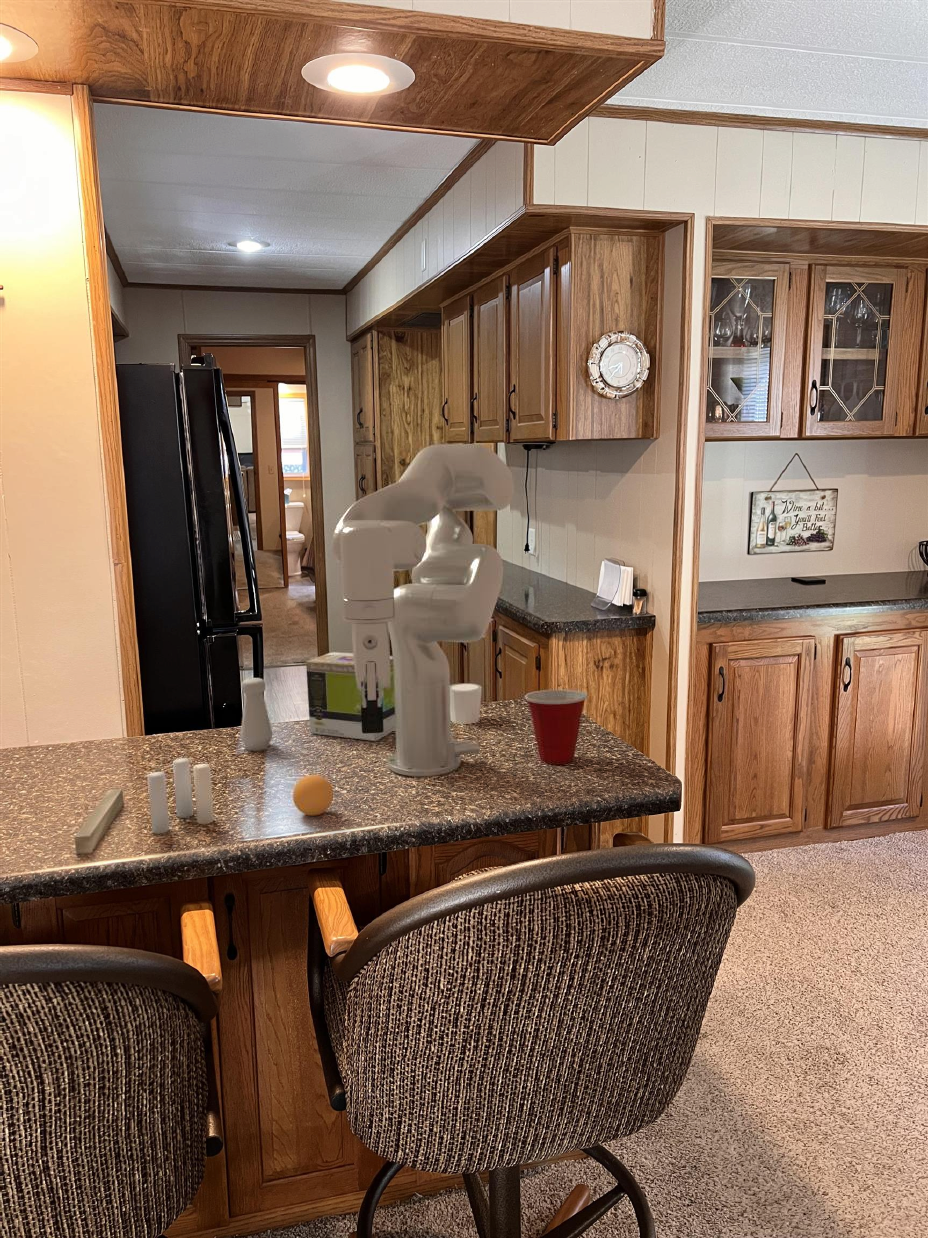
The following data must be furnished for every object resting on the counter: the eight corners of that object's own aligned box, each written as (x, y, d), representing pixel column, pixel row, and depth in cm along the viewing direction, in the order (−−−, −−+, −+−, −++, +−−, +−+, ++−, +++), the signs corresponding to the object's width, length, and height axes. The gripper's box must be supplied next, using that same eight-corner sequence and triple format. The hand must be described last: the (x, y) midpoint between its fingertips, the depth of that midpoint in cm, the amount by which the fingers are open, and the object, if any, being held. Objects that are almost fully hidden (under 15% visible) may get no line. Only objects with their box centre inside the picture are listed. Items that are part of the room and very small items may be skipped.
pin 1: (170, 826, 136) (166, 771, 134) (167, 833, 133) (162, 777, 132) (154, 827, 135) (149, 772, 134) (150, 834, 133) (145, 778, 131)
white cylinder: (447, 716, 188) (446, 683, 187) (480, 715, 189) (479, 681, 187) (449, 726, 181) (448, 692, 180) (484, 724, 182) (483, 690, 181)
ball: (334, 805, 142) (332, 768, 141) (333, 820, 136) (331, 782, 135) (295, 807, 142) (293, 770, 141) (292, 823, 136) (290, 784, 135)
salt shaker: (265, 753, 168) (261, 683, 165) (236, 751, 169) (231, 682, 166) (278, 743, 173) (274, 676, 171) (249, 741, 174) (245, 675, 172)
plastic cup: (571, 746, 168) (571, 682, 166) (598, 765, 158) (598, 697, 155) (515, 753, 164) (515, 688, 162) (539, 773, 154) (539, 704, 152)
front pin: (215, 817, 139) (211, 763, 137) (212, 823, 136) (208, 768, 135) (198, 818, 138) (194, 764, 137) (196, 824, 136) (191, 769, 134)
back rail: (123, 804, 145) (122, 789, 144) (91, 853, 127) (89, 836, 127) (110, 804, 144) (109, 789, 144) (76, 854, 127) (74, 837, 126)
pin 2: (194, 811, 141) (190, 758, 140) (192, 817, 139) (187, 763, 137) (178, 812, 141) (174, 759, 139) (175, 818, 139) (171, 764, 137)
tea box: (401, 728, 181) (398, 654, 178) (375, 743, 172) (372, 666, 169) (336, 720, 187) (332, 649, 185) (308, 734, 178) (304, 660, 176)
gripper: (396, 617, 127) (400, 745, 130) (392, 601, 142) (395, 717, 145) (342, 618, 127) (346, 747, 129) (343, 603, 141) (347, 719, 144)
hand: (372, 731), depth 137 cm, fingers closed
